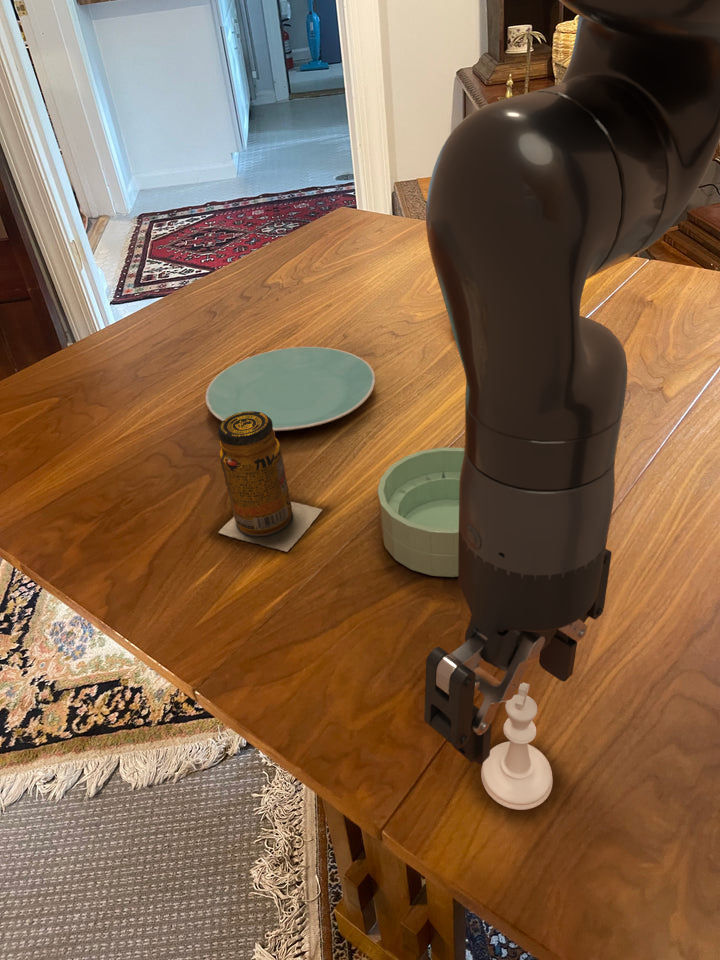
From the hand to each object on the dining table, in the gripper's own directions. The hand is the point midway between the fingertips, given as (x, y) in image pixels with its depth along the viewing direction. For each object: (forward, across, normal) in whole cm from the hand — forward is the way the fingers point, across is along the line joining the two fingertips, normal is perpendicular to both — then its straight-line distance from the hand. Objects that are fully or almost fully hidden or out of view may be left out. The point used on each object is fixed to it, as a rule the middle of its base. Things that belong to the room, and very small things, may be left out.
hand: (515, 709), depth 47 cm
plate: (+8, +22, +53) cm, 58 cm away
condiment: (+8, +5, +36) cm, 37 cm away
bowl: (+8, +16, +20) cm, 27 cm away
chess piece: (+8, 0, 0) cm, 8 cm away
